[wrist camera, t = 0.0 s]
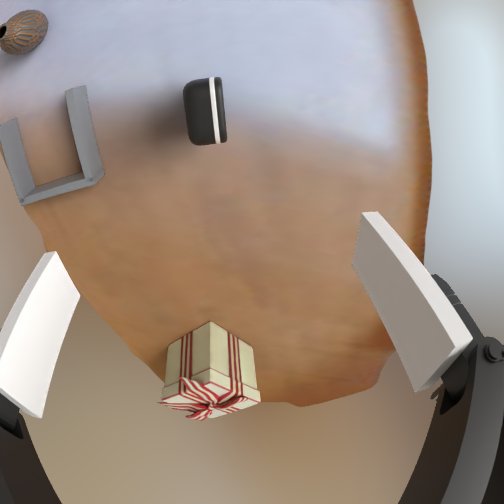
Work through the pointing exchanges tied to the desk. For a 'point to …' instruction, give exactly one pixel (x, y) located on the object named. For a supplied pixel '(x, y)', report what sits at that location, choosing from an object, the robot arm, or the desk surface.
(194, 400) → the gift box
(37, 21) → the vase
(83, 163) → the box
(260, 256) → the desk surface
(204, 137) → the battery charger
